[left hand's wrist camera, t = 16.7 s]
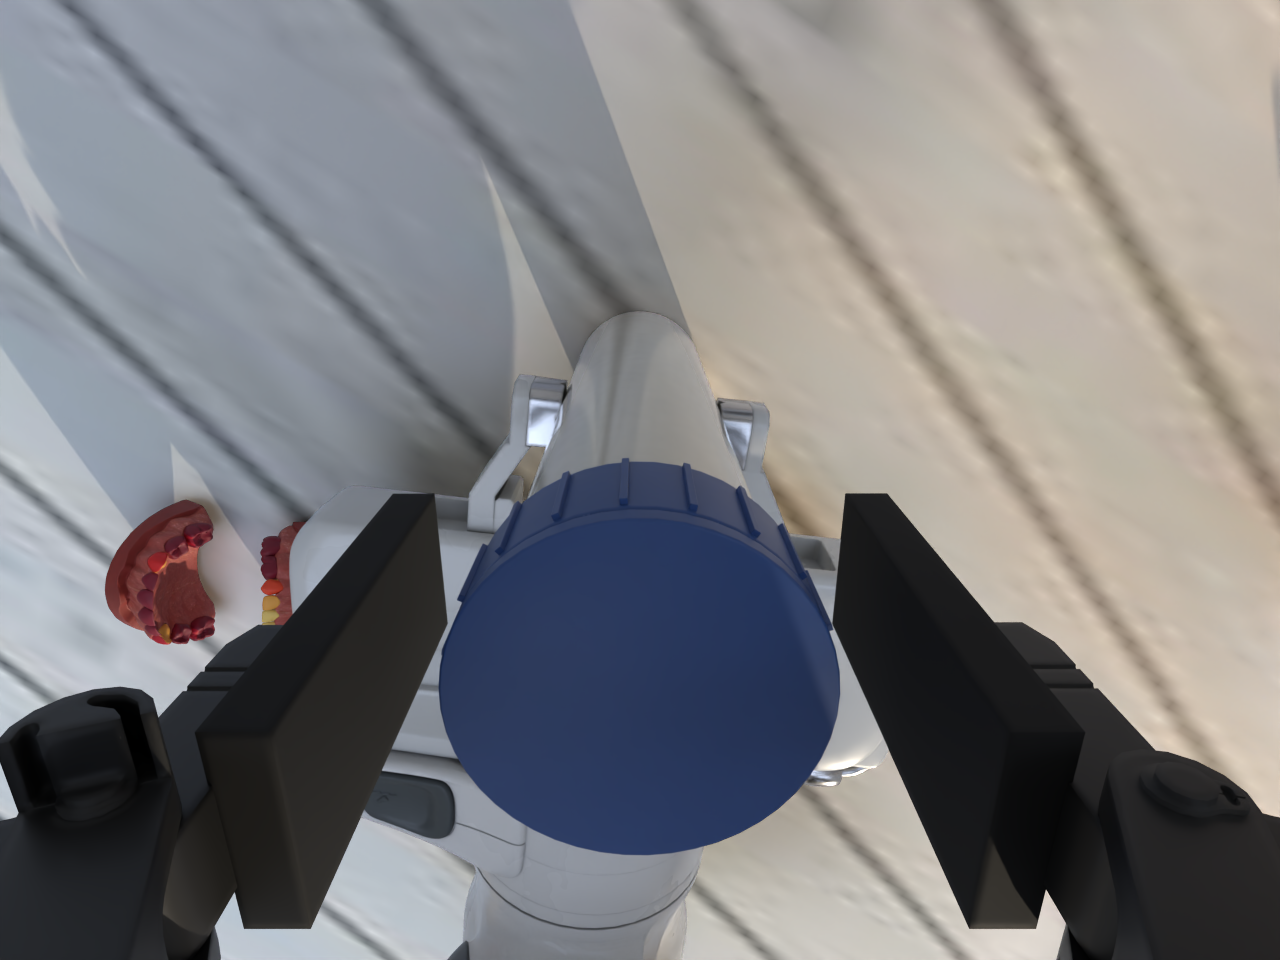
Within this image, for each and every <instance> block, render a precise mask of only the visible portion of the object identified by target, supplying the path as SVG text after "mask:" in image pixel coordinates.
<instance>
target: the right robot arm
mask: <svg viewBox="0 0 1280 960" xmlns="http://www.w3.org/2000/svg"><path fill="white" fill-rule="evenodd" d="M566 392H567V380H561V379H553V378H546V377H538V376H533V375H519V377H518V378H517V380H516V381H515V384H514V389H513V395H512V405H511V421H510V433H509V434H508V436H507V437H506V438H505V440H504V441H503V443H502V444H501V445H500V447H499V448H498V450H497V451H496V452H495V454H494V455H493V457H492V458H491V459H490V461H489V462H488V464H487V465H486V466H485V468H484V469H483V471H482V472H481V474H480V476H479V477H478V479H477V481H476V483H475V484H474V486H473V488H472V490H471V491H470V493H469V498H465V497H456V496H447V495H438V494H435V503H436V512H437V522H438V532H439V542H440V551H441V561H442V571H443V581H444V591H445V600H446V610H447V620H448V625H447V627H446V629H445V631H444V633H443V636H442V638H441V640H440V642H439V645H438V647H437V649H436V651H435V653H434V656H433V658H432V660H431V662H430V665H429V667H428V669H427V671H426V673H425V676H424V678H423V680H422V682H421V685H420V687H419V689H418V691H417V693H416V696H415V698H414V700H413V702H412V705H411V707H410V709H409V711H408V713H407V716H406V718H405V720H404V722H403V725H402V727H401V729H400V731H399V733H398V736H397V738H396V740H395V742H394V745H393V747H392V749H391V751H390V754H389V756H388V758H387V760H386V762H385V765H384V767H383V769H382V771H381V774H380V776H379V778H378V780H377V782H376V785H375V787H374V789H373V791H372V794H371V796H370V798H369V800H368V802H367V805H366V807H365V809H364V811H363V814H362V816H361V818H364V819H367V820H370V821H373V822H376V823H379V824H382V825H385V826H387V827H390V828H393V829H396V830H398V831H401V832H404V833H406V834H409V835H411V836H414V837H417V838H419V839H421V840H424V841H426V842H428V843H431V844H433V845H435V846H438V847H440V848H442V849H444V850H446V851H448V852H450V853H452V854H454V855H456V856H458V857H460V858H462V859H464V860H465V861H467V862H469V863H471V864H473V865H474V866H475V870H476V874H475V876H474V878H473V881H472V883H471V886H470V889H469V893H468V897H467V900H466V905H465V912H464V927H463V943H462V944H461V945H460V946H459V947H458V948H457V949H456V950H455V951H454V953H453V954H452V955H451V956H450V957H449V958H448V960H682V956H683V952H684V946H685V940H686V930H687V911H686V903H685V898H686V896H687V894H688V893H689V891H690V889H691V887H692V885H693V883H694V881H695V879H696V876H697V873H698V870H699V868H700V864H701V859H702V854H703V848H704V846H703V847H700V848H697V849H692V850H687V851H681V852H676V853H670V854H658V855H620V854H611V853H602V852H597V851H592V850H588V849H583V848H578V847H575V846H572V845H569V844H566V843H563V842H560V841H557V840H554V839H552V838H550V837H547V836H545V835H543V834H541V833H539V832H536V831H534V830H532V829H531V828H529V827H527V826H526V825H524V824H522V823H521V822H519V821H517V820H515V819H514V818H512V817H511V816H510V815H508V814H507V813H506V812H505V811H503V810H502V809H501V808H499V807H498V806H497V805H495V804H494V803H493V802H492V801H491V800H490V799H489V798H488V797H487V796H486V795H485V794H484V793H483V792H482V791H481V790H480V789H479V788H478V787H477V785H476V784H475V783H474V781H473V780H472V779H471V778H470V776H469V775H468V774H467V773H466V771H465V770H464V768H463V766H462V765H461V763H460V761H459V759H458V758H457V756H456V754H455V753H454V750H453V748H452V746H451V743H450V741H449V738H448V736H447V733H446V731H445V726H444V722H443V718H442V714H441V710H440V700H439V689H438V685H439V671H440V663H441V658H442V655H441V652H442V648H443V645H444V643H445V641H446V638H447V636H448V634H449V632H450V629H451V627H452V624H453V622H454V620H455V617H456V615H457V613H458V611H459V608H460V606H461V604H462V602H460V601H457V598H458V596H459V594H460V591H461V589H462V587H463V585H464V583H465V580H466V578H467V576H468V574H469V572H470V569H471V567H472V565H473V563H474V561H475V558H476V556H477V554H478V552H479V550H480V547H481V546H482V544H483V543H484V544H486V545H488V544H489V542H490V541H491V539H492V537H493V536H494V534H495V532H496V531H497V530H498V529H499V527H500V526H501V525H502V524H503V522H504V521H505V520H506V519H507V517H508V516H509V515H510V512H511V510H512V507H513V505H514V504H515V503H516V502H517V501H519V502H520V503H521V504H522V502H523V483H524V479H523V478H522V477H521V476H516V475H511V474H512V472H513V471H514V469H515V468H516V467H517V465H518V464H519V462H520V461H521V460H522V458H523V457H524V455H525V454H526V453H527V451H528V450H529V448H530V447H531V446H538V447H546V445H547V443H548V440H549V437H550V435H551V432H552V429H553V427H554V424H555V421H556V419H557V416H558V413H559V411H560V408H561V405H562V403H563V400H564V397H565V395H566ZM716 403H717V405H718V408H719V411H720V413H721V416H722V419H723V421H724V424H725V427H726V430H727V432H728V435H729V438H730V440H731V443H732V446H733V448H734V451H735V454H736V456H737V459H738V462H739V464H740V467H741V470H742V472H743V475H744V478H745V480H746V483H747V486H748V488H749V491H750V494H751V496H752V499H753V501H755V502H756V503H757V504H759V505H760V506H761V507H762V508H763V509H764V510H765V511H766V512H767V513H768V514H769V515H770V516H771V518H772V519H773V520H774V521H775V522H776V523H777V525H780V524H781V523H783V524H784V521H783V519H782V516H781V513H780V511H779V508H778V506H777V503H776V500H775V498H774V495H773V493H772V490H771V488H770V485H769V482H768V480H767V477H766V475H765V472H764V470H763V468H762V463H763V458H764V453H765V447H766V442H767V436H768V431H769V421H770V414H769V411H768V409H767V407H766V406H765V404H764V403H760V402H751V401H743V400H733V399H724V398H718V399H717V401H716ZM392 494H429V493H420V492H411V491H402V490H393V489H384V488H376V487H367V486H349V487H347V488H344V489H343V490H341V491H340V492H339V493H337V494H336V495H335V496H334V497H333V498H331V499H330V500H329V501H328V502H327V503H325V504H324V505H323V506H322V507H321V508H319V509H318V510H317V511H316V512H315V513H314V514H313V515H312V517H311V518H310V519H309V520H308V521H307V522H306V523H305V524H304V526H303V527H302V528H301V529H300V531H299V532H298V534H297V535H296V537H295V539H294V541H293V544H292V547H291V550H290V559H289V577H290V593H291V604H292V613H294V612H295V611H296V610H297V608H298V607H299V606H300V605H301V604H302V602H303V601H304V600H305V599H306V598H307V596H308V595H309V594H310V593H311V592H312V590H313V589H314V588H315V587H316V586H317V584H318V583H319V582H320V581H321V580H322V578H323V577H324V576H325V575H326V574H327V572H328V571H329V570H330V569H331V568H332V566H333V565H334V564H335V563H336V562H337V560H338V559H339V558H340V557H341V555H342V554H343V553H344V552H345V551H346V549H347V548H348V547H349V546H350V545H351V543H352V542H353V541H354V540H355V539H356V537H357V536H358V535H359V534H360V533H361V531H362V530H363V529H364V528H365V527H366V525H367V524H368V523H369V522H370V521H371V519H372V518H373V517H374V516H375V515H376V513H377V512H378V511H379V510H380V509H381V507H382V506H383V505H384V504H385V503H386V501H387V500H388V499H389V498H390V497H391V495H392ZM784 525H785V524H784ZM785 527H786V526H785ZM789 535H790V538H791V540H792V542H793V544H794V547H795V549H796V551H797V553H798V556H799V558H800V560H801V562H802V565H803V567H804V569H805V570H808V572H809V574H810V577H811V579H812V581H813V583H814V585H815V588H816V590H817V592H818V594H819V596H820V599H821V601H822V603H823V605H824V608H825V610H826V612H827V614H828V616H829V619H830V621H831V623H832V620H833V610H834V600H835V591H836V581H837V571H838V561H839V551H840V542H841V539H835V538H826V537H817V536H808V535H799V534H790V533H789ZM832 626H833V625H832ZM829 632H830V634H831V637H832V640H833V643H834V646H835V649H836V653H837V659H838V664H839V670H840V700H839V707H838V715H837V719H836V722H835V726H834V729H833V732H832V736H831V739H830V741H829V743H828V745H827V747H826V750H825V752H824V754H823V756H822V758H821V760H820V761H819V763H818V764H817V766H816V767H815V769H814V771H813V772H812V774H811V775H810V777H809V778H808V779H807V780H806V781H805V783H804V784H805V785H810V786H818V787H827V786H835V785H839V784H840V782H841V779H842V777H849V776H854V775H857V774H860V773H862V772H865V771H867V770H868V769H870V768H876V767H878V766H879V765H880V764H881V763H882V762H883V760H884V759H885V757H886V755H887V753H888V750H889V749H888V747H887V745H886V742H885V740H884V738H883V736H882V733H881V731H880V729H879V727H878V725H877V722H876V720H875V718H874V716H873V713H872V711H871V709H870V707H869V705H868V702H867V700H866V698H865V696H864V693H863V691H862V689H861V687H860V685H859V682H858V680H857V678H856V676H855V673H854V671H853V669H852V667H851V665H850V662H849V660H848V658H847V656H846V653H845V651H844V649H843V647H842V645H841V642H840V640H839V638H838V636H837V633H836V631H835V629H834V627H833V630H832V631H829Z"/></svg>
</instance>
